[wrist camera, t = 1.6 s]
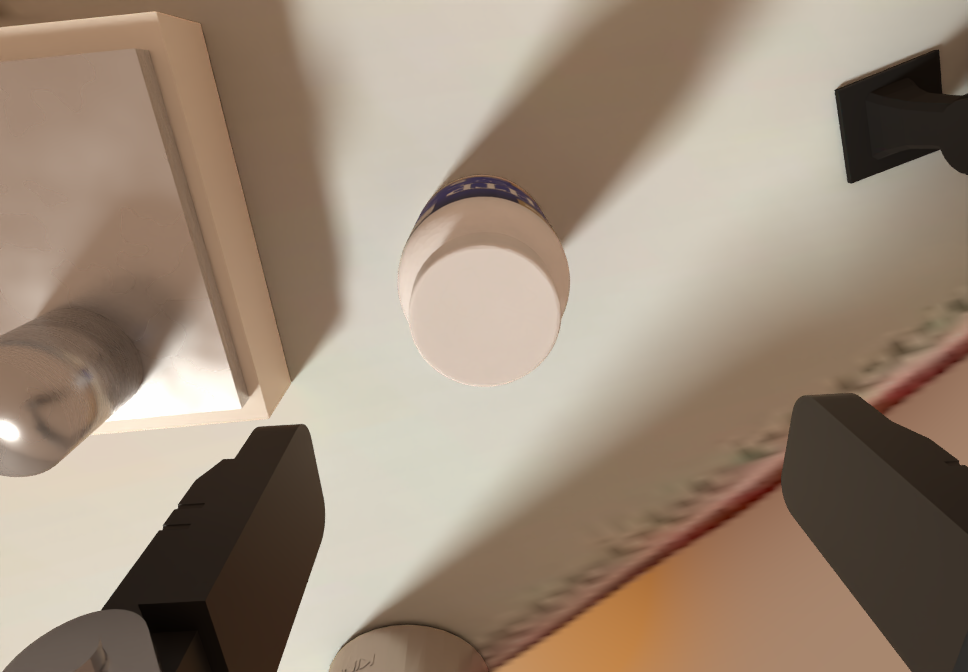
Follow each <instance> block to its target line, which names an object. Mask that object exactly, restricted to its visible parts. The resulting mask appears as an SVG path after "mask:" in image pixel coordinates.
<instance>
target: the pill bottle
mask: <svg viewBox="0 0 968 672" xmlns="http://www.w3.org/2000/svg"><path fill="white" fill-rule="evenodd" d="M569 290H570V275H569V267H568V262H567V259H566V255H565V253H564V250H563V247H562V245H561V243H560V241H559V239H558V237H557V235H556V234H555V232H554V230H553V229H552V227H551V225H550V224H549V222H548V221H547V219H546V218H545V216H544V214H543V213H542V211H541V209H540V208H539V206H538V205H537V203H536V202H535V201H534V199H533V198H532V197H531V196H530V195H529V194H528V193H527V192H526V191H525V190H523V189H522V188H521V187H519V186H518V185H516V184H515V183H513V182H511V181H509V180H506V179H504V178H501V177H497V176H491V175H473V176H467V177H463V178H460V179H457V180H455V181H453V182H451V183H449V184H447V185H445V186H444V187H443V188H441V189H440V190H439V191H437V192H436V193H435V194H434V195H433V196H432V198H431V199H430V200H429V201H428V202H427V204H426V206H425V207H424V209H423V210H422V212H421V214H420V216H419V218H418V220H417V222H416V224H415V226H414V228H413V230H412V232H411V234H410V236H409V238H408V240H407V242H406V245H405V247H404V250H403V252H402V256H401V260H400V264H399V269H398V293H399V299H400V303H401V306H402V309H403V312H404V314H405V317H406V319H407V320H408V322H409V327H410V331H411V335H412V338H413V341H414V343H415V345H416V347H417V349H418V351H419V352H420V354H421V355H422V356H423V358H424V359H425V360H426V361H427V362H428V363H429V364H430V365H431V366H432V367H433V368H434V369H435V370H436V371H438V372H439V373H441V374H442V375H444V376H446V377H448V378H450V379H452V380H454V381H456V382H459V383H463V384H466V385H472V386H481V387H488V386H498V385H503V384H507V383H510V382H512V381H515V380H517V379H520V378H522V377H523V376H525V375H527V374H529V373H530V372H531V371H533V370H534V369H535V368H536V367H537V366H539V365H540V364H541V362H542V361H543V360H544V359H545V358H546V357H547V355H548V354H549V353H550V351H551V349H552V348H553V346H554V344H555V342H556V339H557V336H558V333H559V329H560V324H561V318H562V316H563V313H564V311H565V308H566V305H567V301H568V296H569Z"/></svg>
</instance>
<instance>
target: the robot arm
mask: <svg viewBox="0 0 968 672" xmlns="http://www.w3.org/2000/svg"><path fill="white" fill-rule="evenodd" d="M781 485H782V492H783V496H784V500H785V503H786V505H787V508H788V509H789V511H790V513H791V515H792V516H793V517H794V518H795V520H796V521H797V522H798V524H799V525H800V526H801V528H802V529H803V530H804V532H805V533H806V534H807V536H808V537H809V538H810V540H811V541H812V542H813V543H814V545H815V546H816V547H817V549H818V550H819V551H820V553H821V554H822V555H823V557H824V558H825V559H826V560H827V562H828V563H829V564H830V566H831V567H832V568H833V569H834V571H835V572H836V573H837V575H838V576H839V577H840V579H841V580H842V581H843V583H844V584H845V585H846V586H847V588H848V589H849V590H850V592H851V593H852V594H853V596H854V597H855V598H856V600H857V601H858V602H859V604H860V605H861V606H862V607H863V609H864V610H865V611H866V613H867V614H868V615H869V617H870V618H871V619H872V621H873V622H874V623H875V624H876V626H877V627H878V628H879V630H880V631H881V632H882V633H883V635H884V636H885V637H886V639H887V640H888V641H889V643H890V644H891V645H892V647H893V648H894V649H895V650H896V652H897V653H898V654H899V656H900V657H901V658H902V660H903V661H904V662H905V663H906V665H907V666H908V667H909V669H910V670H911V671H912V672H968V467H967V466H965V465H960V464H959V460H957V459H956V458H955V457H953V456H952V455H951V454H949V453H948V452H947V451H945V450H944V449H943V448H941V447H940V446H939V445H937V444H936V443H935V442H933V441H932V440H930V439H929V438H927V437H925V436H922V435H920V434H918V433H916V432H914V431H911V430H909V429H907V428H905V427H903V426H900V425H899V424H896V423H894V422H892V421H891V420H889V419H888V418H887V417H885V416H884V415H883V414H881V413H880V412H879V411H878V410H876V409H875V408H874V407H872V406H871V405H870V404H868V403H867V402H866V401H865V400H863V399H862V398H861V397H859V396H858V395H856V394H853V393H841V394H824V395H807V396H802V397H800V398H799V399H798V400H797V401H796V403H795V405H794V408H793V412H792V418H791V424H790V429H789V435H788V441H787V446H786V452H785V458H784V464H783V469H782V476H781ZM324 526H325V504H324V498H323V493H322V488H321V483H320V478H319V474H318V469H317V464H316V459H315V454H314V449H313V444H312V440H311V435H310V432H309V430H308V428H307V427H306V425H304V424H297V425H280V426H263V427H257V428H255V429H254V430H253V432H252V433H251V435H250V436H249V438H248V439H247V441H246V442H245V444H244V445H243V447H242V448H241V450H240V451H239V453H238V454H237V456H236V457H235V459H223V460H222V461H221V462H219V463H218V464H217V465H215V466H214V467H213V468H211V469H210V470H209V471H207V472H206V473H205V474H203V475H202V476H201V477H199V478H198V479H197V480H196V481H195V482H194V483H193V485H192V486H191V487H190V489H189V490H188V492H187V493H186V494H185V496H184V497H183V498H182V500H181V501H180V502H179V504H178V509H174V511H173V512H172V513H171V515H170V516H169V518H168V519H167V520H166V522H165V523H164V524H163V530H160V531H158V533H157V534H156V535H155V537H154V538H153V540H152V541H151V542H150V544H149V545H148V546H147V548H146V549H145V551H144V552H143V553H142V555H141V556H140V557H139V559H138V560H137V562H136V563H135V564H134V566H133V567H132V568H131V570H130V571H129V573H128V574H127V575H126V577H125V578H124V579H123V581H122V582H121V583H120V585H119V586H118V588H117V589H116V590H115V592H114V593H113V594H112V596H111V597H110V599H109V600H108V601H107V603H106V604H105V605H104V607H103V608H102V610H101V611H97V612H92V613H89V614H86V615H83V616H80V617H77V618H75V619H73V620H70V621H68V622H66V623H64V624H62V625H60V626H58V627H56V628H54V629H52V630H51V631H49V632H48V633H46V634H44V635H43V636H41V637H40V638H38V639H37V640H36V641H34V642H33V643H32V644H30V645H29V646H28V647H26V648H25V649H24V650H23V651H22V652H21V653H20V654H18V655H17V656H16V657H15V658H14V659H13V660H12V661H11V662H10V664H9V665H8V666H7V667H6V668H5V669H4V670H3V672H277V669H278V666H279V664H280V661H281V658H282V655H283V652H284V649H285V646H286V643H287V640H288V637H289V634H290V632H291V629H292V626H293V623H294V620H295V617H296V614H297V611H298V608H299V605H300V602H301V599H302V597H303V594H304V591H305V588H306V585H307V582H308V579H309V576H310V573H311V570H312V567H313V565H314V562H315V559H316V556H317V553H318V550H319V547H320V544H321V541H322V538H323V533H324ZM329 672H489V671H488V667H487V665H486V663H485V662H484V660H483V658H482V656H481V655H480V654H479V653H478V652H477V651H476V650H475V649H474V648H473V646H471V645H470V644H468V643H467V642H465V641H464V640H463V639H461V638H460V637H458V636H455V635H453V634H451V633H449V632H446V631H444V630H440V629H436V628H432V627H428V626H419V625H395V626H388V627H383V628H379V629H374V630H372V631H369V632H367V633H364V634H362V635H359V636H358V637H356V638H355V639H353V640H352V641H350V642H349V643H347V644H346V645H345V646H344V647H343V648H342V649H341V650H340V651H339V652H338V653H337V654H336V656H335V658H334V660H333V661H332V663H331V665H330V669H329Z"/></svg>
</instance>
